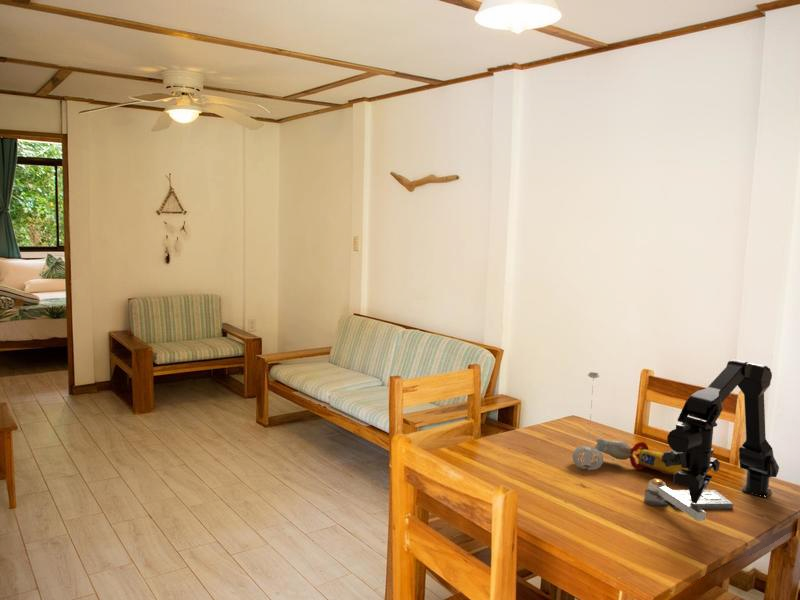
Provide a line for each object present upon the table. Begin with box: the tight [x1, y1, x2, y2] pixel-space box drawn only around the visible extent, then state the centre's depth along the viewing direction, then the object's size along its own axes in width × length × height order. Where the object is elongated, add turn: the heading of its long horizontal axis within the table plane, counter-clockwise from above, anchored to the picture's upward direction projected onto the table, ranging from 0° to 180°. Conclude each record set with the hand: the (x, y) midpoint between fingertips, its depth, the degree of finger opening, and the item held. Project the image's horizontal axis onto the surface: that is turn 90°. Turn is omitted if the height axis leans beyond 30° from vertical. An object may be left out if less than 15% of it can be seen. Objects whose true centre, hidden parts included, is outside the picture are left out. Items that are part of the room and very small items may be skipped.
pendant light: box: [571, 371, 604, 471], centre depth 203 cm, size 9×9×30 cm
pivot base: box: [643, 488, 669, 508], centre depth 180 cm, size 6×6×3 cm
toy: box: [594, 437, 688, 476], centre depth 204 cm, size 9×13×30 cm
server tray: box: [668, 489, 734, 510], centre depth 181 cm, size 16×9×2 cm, turn 94°
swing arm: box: [647, 478, 707, 522], centre depth 172 cm, size 20×4×3 cm, turn 14°
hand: (694, 502), depth 169 cm, fingers closed
